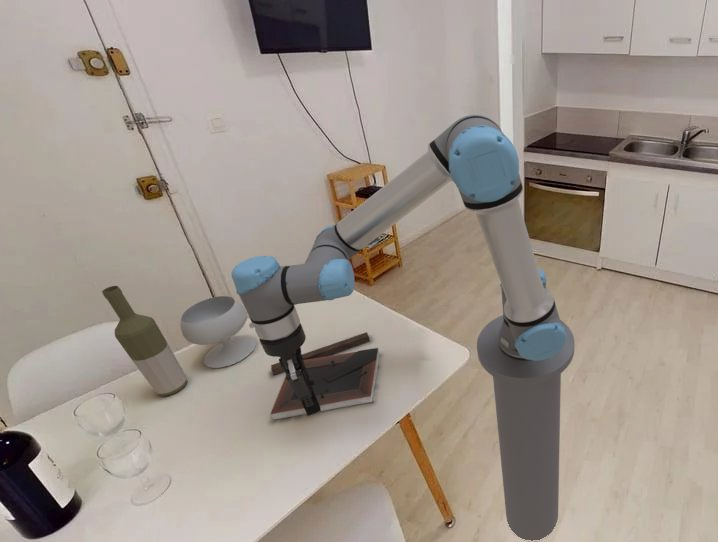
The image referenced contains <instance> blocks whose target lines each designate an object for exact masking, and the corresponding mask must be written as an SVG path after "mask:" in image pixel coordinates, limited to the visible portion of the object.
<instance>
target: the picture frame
mask: <svg viewBox="0 0 718 542" xmlns="http://www.w3.org/2000/svg"><path fill="white" fill-rule="evenodd" d="M379 349H380V348H379V347H374V348H367V349H362V350H357V351H353V352H345V353H338V354H333V355H330V356H326V357H320V358H313V359H307V360H304V364H305V367H306V370H307V373H308V374H309V381H312V380H314V385H311V386H310V387H312V388H313V391H314V393H315V396H316V398H317V400H318V403H319V405H320V409H321V411H320V412H323V411H329V410H334V409H341V408H345V407H350V406H356V405H362V404H368V403H372V402H373V400H374V392H375V386H376V380H377V373H378V366H379V359H380V350H379ZM301 415H307V413H306V411H305V409H304V406H303V404H302V402H301V401H299V400H298V398H297V399H295V392H294V390H293V388H292V387H291V385H290V383H289V382H288V381H287V380H286V376H285V377H284V380H283V381H282V384H281V387H280V390H279V392H278V394H277V397H276V399H275V401H274V404H273V406H272V408H271V412H270V416H271V419H272V420H280V419H286V418H290V417H297V416H301Z"/></svg>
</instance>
